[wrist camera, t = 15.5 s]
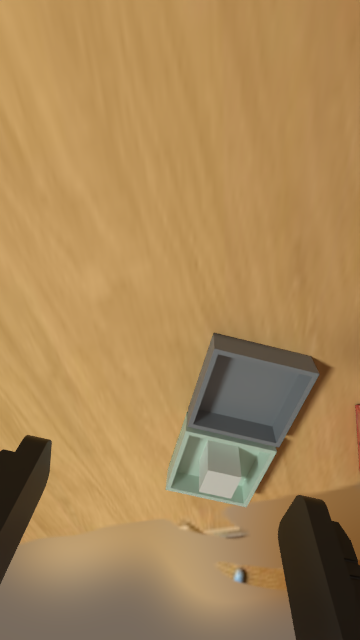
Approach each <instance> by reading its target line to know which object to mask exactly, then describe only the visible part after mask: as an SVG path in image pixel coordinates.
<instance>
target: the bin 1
mask: <svg viewBox="0 0 360 640" xmlns="http://www.w3.org/2000/svg"><path fill="white" fill-rule="evenodd" d="M318 376H319V372H318V370H317V368H316V366H315V364H314V362H313V360H312V357H311V356H307V355H303V354H299V353H295V352H291V351H287V350H283V349H278V348H274V347H270V346H266V345H262V344H258V343H254V342H250V341H246V340H241V339H237V338H233V337H229V336H225V335H221V334H217V333H213V336H212V339H211V342H210V345H209V348H208V351H207V354H206V357H205V360H204V363H203V366H202V369H201V372H200V375H199V378H198V381H197V384H196V387H195V390H194V393H193V396H192V399H191V402H190V405H189V410H188V426H187V427H191V428H196V429H200V430H204V431H209V432H213V433H218V434H222V435H226V436H231V437H235V438H240V439H244V440H248V441H253V442H257V443H261V444H266V445H270V446H275V447H280V445H281V443H282V441H283V440H284V438H285V436H286V434H287V432H288V431H289V429H290V427H291V425H292V423H293V421H294V420H295V418H296V416H297V414H298V412H299V410H300V409H301V407H302V405H303V403H304V401H305V400H306V398H307V396H308V394H309V392H310V390H311V389H312V387H313V385H314V383H315V381H316V380H317V378H318Z"/></svg>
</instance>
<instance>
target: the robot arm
mask: <svg viewBox="0 0 360 640" xmlns="http://www.w3.org/2000/svg"><path fill="white" fill-rule="evenodd" d="M51 445H52V442H51V440H48V439H44V438H39V437H35V436H30V435H27V436H25V437H24V439H23V440H22V442H21V443H20V445H19V447H18V448H17V450H16V451H15V452H13V451H8V450H2V451H0V584H1V581H2V579H3V577H4V575H5V573H6V571H7V568H8V566H9V564H10V562H11V560H12V558H13V556H14V554H15V551H16V549H17V547H18V545H19V543H20V541H21V538H22V536H23V534H24V532H25V530H26V528H27V526H28V523H29V521H30V519H31V517H32V515H33V513H34V510H35V508H36V506H37V504H38V502H39V500H40V498H41V495H42V493H43V491H44V489H45V486H46V483H47V480H48V476H49V471H50V459H51ZM278 540H279V547H280V553H281V558H282V564H283V569H284V575H285V581H286V586H287V592H288V597H289V603H290V608H291V614H292V619H293V625H294V630H295V636H296V640H360V565H358V559H357V557H356V554H355V551H354V548H353V546H352V543H351V540H350V539H349V538H348V536H347V534H346V533H345V531H344V530H343V529H342V527H341V526H340V524H339V523H338V522H334V521H331V518H330V515H329V512H328V509H327V506H326V504H325V502H324V501H322V500H320V499H316V498H311V497H306V496H302V495H298V496H296V498H295V499H294V501H293V502H292V504H291V506H290V507H289V509H288V510H287V512H286V513H285V515H284V516H283V518H282V520H281V522H280V525H279V530H278Z"/></svg>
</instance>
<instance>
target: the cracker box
mask: <svg viewBox="0 0 360 640" xmlns="http://www.w3.org/2000/svg"><path fill="white" fill-rule="evenodd" d="M355 408H356V423H357V437H358V453H359V469H360V405H355Z"/></svg>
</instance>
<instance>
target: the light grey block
mask: <svg viewBox="0 0 360 640" xmlns="http://www.w3.org/2000/svg"><path fill="white" fill-rule="evenodd" d="M241 478H242V477H241V467H240V458H239V448H238V447H237V446H233V445H228V444H224V443H219V442H215V441H211V440H207V443H206V446H205V448H204V451H203V453H202V456H201V458H200V461H199V492H202V493H207V494H212V495H216V496H221V497H225V498H230V499H231V498H232V496H233V494H234V492H235V490H236V488H237V486H238V484H239V482H240V480H241Z"/></svg>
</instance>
